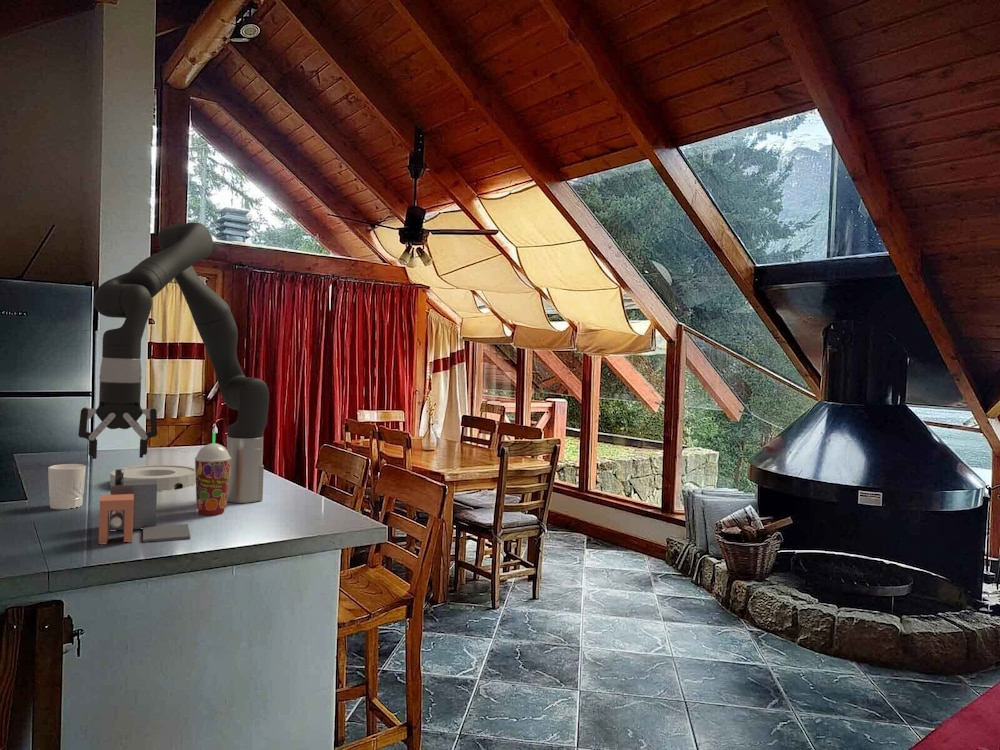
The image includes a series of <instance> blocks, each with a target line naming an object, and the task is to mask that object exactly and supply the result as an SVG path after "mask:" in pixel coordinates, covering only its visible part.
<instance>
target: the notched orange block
mask: <svg viewBox="0 0 1000 750" xmlns="http://www.w3.org/2000/svg"><path fill="white" fill-rule="evenodd" d="M133 505H134V494H121V495H111V494H105V495H104V494H103V495H100V499H99V518H98V519H99V520H98V521H99V522H98V545H99V544H101V543H102V544H103V543H107V544H108V542H109V534H110V533H109V531H110V510H125V520H124V531H123V543H124V542H132V543H133V536H132V535H133V531H134V530H133ZM107 541H108V542H107Z"/></svg>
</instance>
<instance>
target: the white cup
mask: <svg viewBox="0 0 1000 750" xmlns="http://www.w3.org/2000/svg"><path fill="white" fill-rule="evenodd" d="M47 469H48V472H47V473H48V477H47V478H48V479H47V480H48V497H49V508H50V509H53V510H70V508H73V509H77V508H76V507H78V508H80V506H81V507H83V499H84V497H83V496H84V493H85V483H86V481H85V480H86V469H87V465H85V464H82V463H81V464H79V463H65V464H64V463H62V464H54V465H51V466H48V467H47Z"/></svg>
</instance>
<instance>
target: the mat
mask: <svg viewBox="0 0 1000 750" xmlns="http://www.w3.org/2000/svg"><path fill="white" fill-rule="evenodd" d="M190 533H191V532H190V528H189V525H188V523H181V524H167V525H166V524H165V525H156V526H149V527H143V530H142V543H147V542H146V541H156V542H165V541H164V540H169V541H180V539H183V540H191V534H190ZM144 541H145V542H144Z"/></svg>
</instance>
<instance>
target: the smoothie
mask: <svg viewBox="0 0 1000 750" xmlns="http://www.w3.org/2000/svg"><path fill="white" fill-rule="evenodd" d="M194 464H195V465H194V468H195V473H196V485H195V495H196V496H195V497H196V499H195V501H196V503H195V504H196V509H197V510H198V514H200V515H201V516H202V515H203V516H217V515H221V514H223V513H224V512H225V508H226V507H227V504H228V503H227V502H228V501H227V495H228V485H229V475H230V465H231V457H230V455H229V453H228V451H227V447H225V446H224V445H222V444H220V443H216V432H212V442H211V443H208V444H206V445H204V446H203V447H201V448H200V449H199V451H198V453H197V455H196V456H195V457H194Z"/></svg>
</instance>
